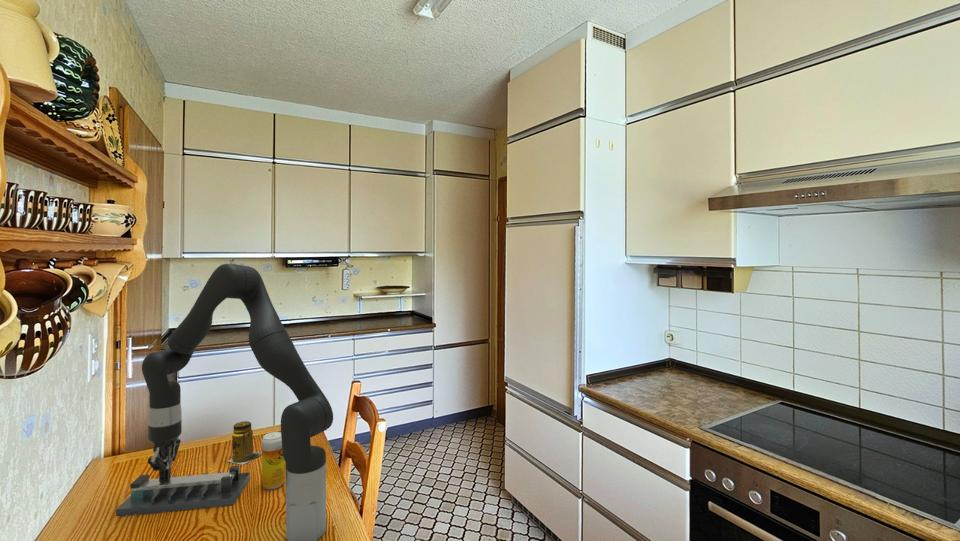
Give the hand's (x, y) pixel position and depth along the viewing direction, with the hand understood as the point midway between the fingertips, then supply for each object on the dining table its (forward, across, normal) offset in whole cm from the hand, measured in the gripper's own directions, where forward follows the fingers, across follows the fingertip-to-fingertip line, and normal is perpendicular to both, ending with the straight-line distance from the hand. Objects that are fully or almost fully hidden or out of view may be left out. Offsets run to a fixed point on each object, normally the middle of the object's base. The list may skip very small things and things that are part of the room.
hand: (165, 480), depth 119 cm
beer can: (+5, +2, -28) cm, 28 cm away
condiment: (+5, +22, -14) cm, 26 cm away
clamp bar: (+1, 0, -5) cm, 5 cm away
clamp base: (+5, 0, -6) cm, 8 cm away
